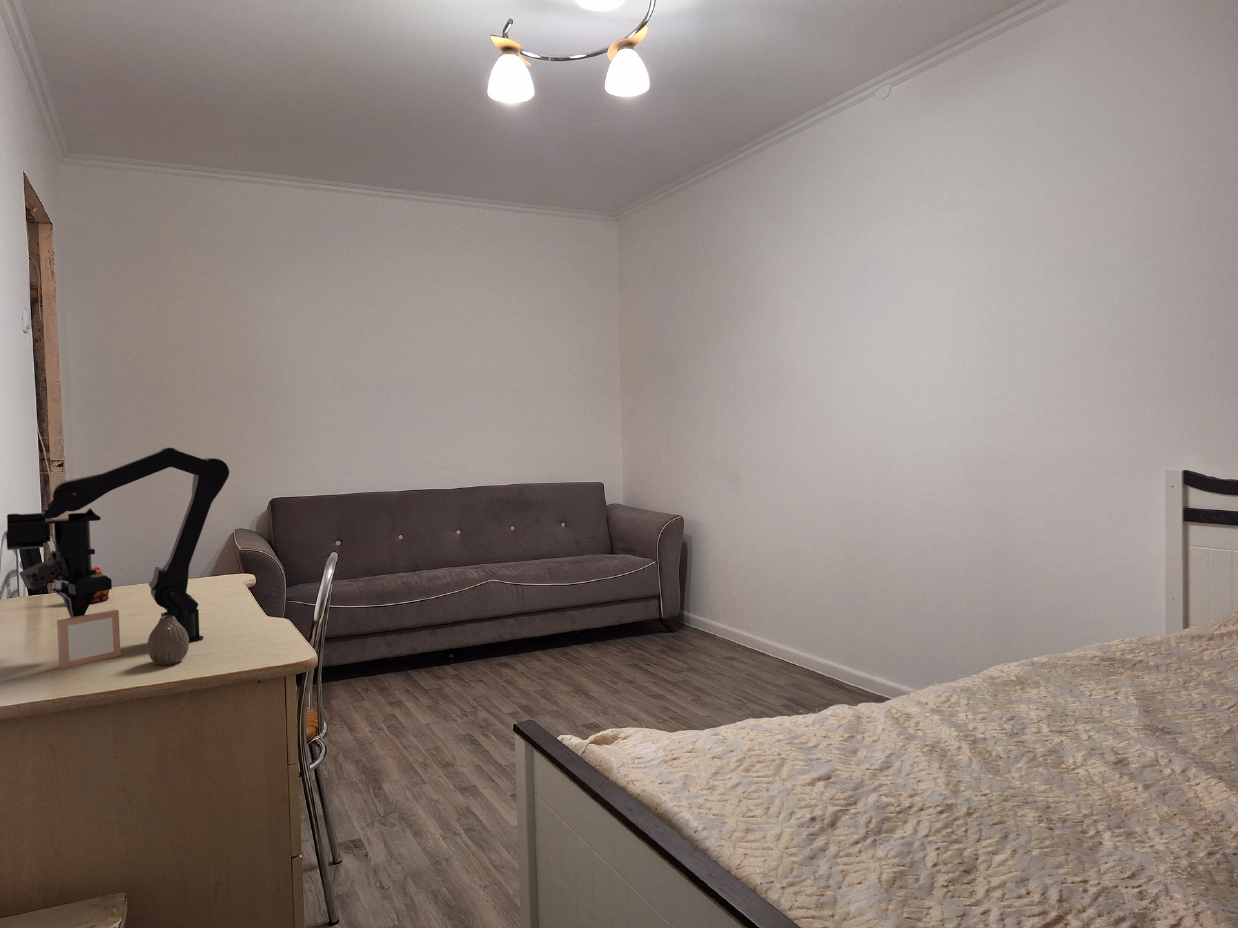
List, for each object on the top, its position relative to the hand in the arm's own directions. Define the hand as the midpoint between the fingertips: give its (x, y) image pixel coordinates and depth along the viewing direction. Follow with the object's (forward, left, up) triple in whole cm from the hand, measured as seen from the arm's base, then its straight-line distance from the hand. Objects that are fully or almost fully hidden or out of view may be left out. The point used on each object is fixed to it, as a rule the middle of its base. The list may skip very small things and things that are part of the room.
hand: (76, 623), depth 156 cm
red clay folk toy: (-23, -53, -7) cm, 58 cm away
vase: (-8, +20, -7) cm, 22 cm away
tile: (0, +6, -6) cm, 9 cm away
